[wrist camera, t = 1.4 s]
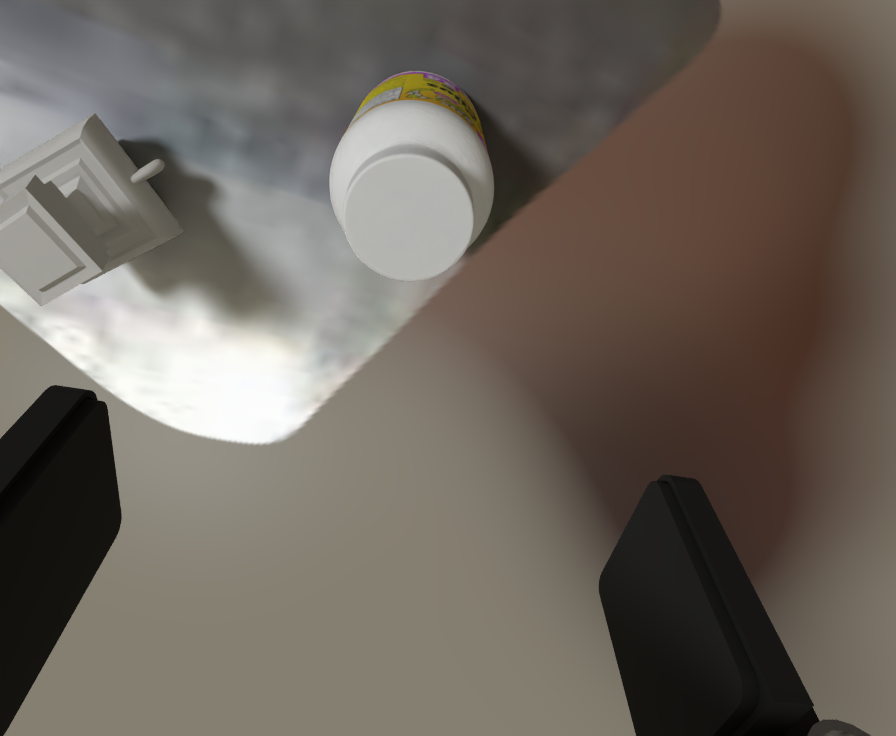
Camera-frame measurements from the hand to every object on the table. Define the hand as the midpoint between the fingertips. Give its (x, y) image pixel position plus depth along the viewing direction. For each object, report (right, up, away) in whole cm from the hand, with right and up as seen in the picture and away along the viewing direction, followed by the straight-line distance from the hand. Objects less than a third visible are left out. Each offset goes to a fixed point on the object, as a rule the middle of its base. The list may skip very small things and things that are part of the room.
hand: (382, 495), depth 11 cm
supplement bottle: (0, +15, +21) cm, 26 cm away
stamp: (-17, +12, +23) cm, 31 cm away
